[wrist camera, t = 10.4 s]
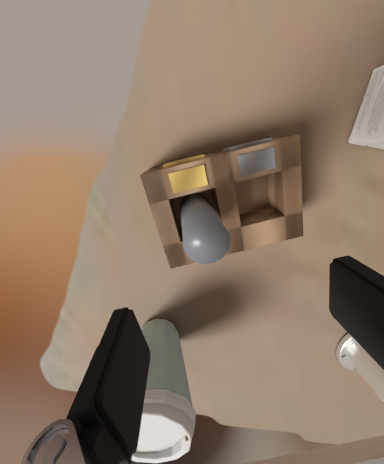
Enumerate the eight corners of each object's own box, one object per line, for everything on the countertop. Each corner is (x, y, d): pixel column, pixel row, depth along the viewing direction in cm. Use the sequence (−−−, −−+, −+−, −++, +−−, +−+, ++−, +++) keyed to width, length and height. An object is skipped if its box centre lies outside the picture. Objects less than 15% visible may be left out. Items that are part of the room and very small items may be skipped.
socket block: (272, 135, 25) (301, 130, 19) (279, 219, 29) (304, 236, 24) (147, 167, 25) (138, 172, 20) (171, 246, 30) (170, 269, 24)
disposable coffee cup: (135, 357, 37) (112, 479, 23) (119, 312, 33) (79, 427, 19) (193, 347, 38) (203, 462, 24) (183, 301, 34) (189, 407, 20)
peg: (205, 189, 25) (225, 215, 15) (211, 216, 26) (233, 257, 16) (176, 196, 25) (177, 227, 15) (184, 223, 26) (189, 268, 16)
